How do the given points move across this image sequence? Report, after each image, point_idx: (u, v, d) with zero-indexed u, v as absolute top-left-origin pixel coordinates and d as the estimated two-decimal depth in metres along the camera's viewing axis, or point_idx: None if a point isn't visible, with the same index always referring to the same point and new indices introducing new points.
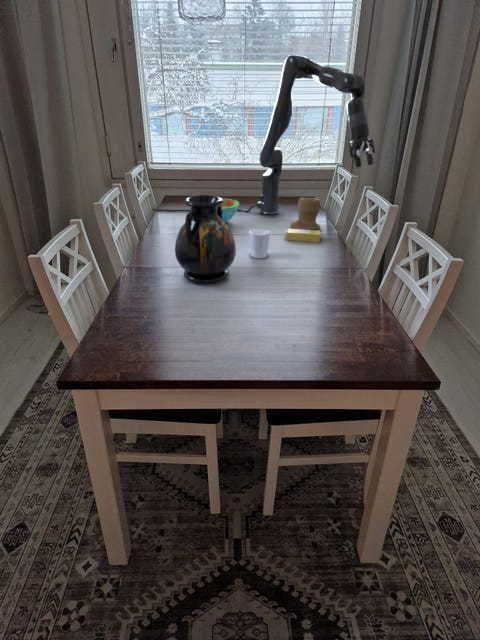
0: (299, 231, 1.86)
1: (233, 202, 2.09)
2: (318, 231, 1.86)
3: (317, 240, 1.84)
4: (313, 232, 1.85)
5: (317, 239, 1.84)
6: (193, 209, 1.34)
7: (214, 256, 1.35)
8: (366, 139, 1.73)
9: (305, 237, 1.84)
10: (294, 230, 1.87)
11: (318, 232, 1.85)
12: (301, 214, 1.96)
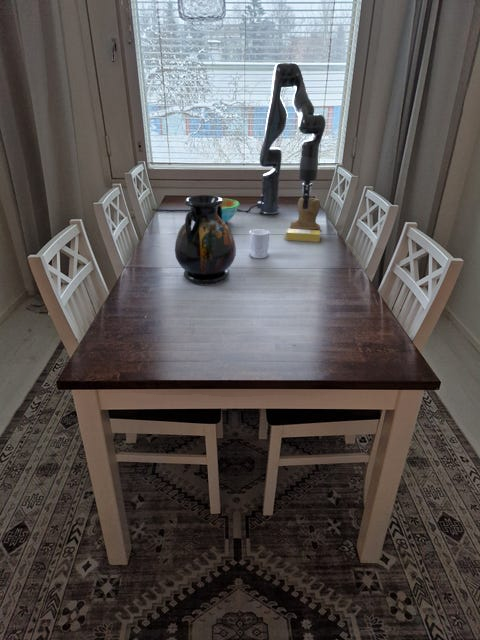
0: (299, 231, 1.86)
1: (233, 202, 2.09)
2: (318, 231, 1.86)
3: (317, 240, 1.84)
4: (313, 232, 1.85)
5: (317, 239, 1.84)
6: (193, 209, 1.34)
7: (214, 256, 1.35)
8: None
9: (305, 237, 1.84)
10: (294, 230, 1.87)
11: (318, 232, 1.85)
12: (301, 214, 1.96)
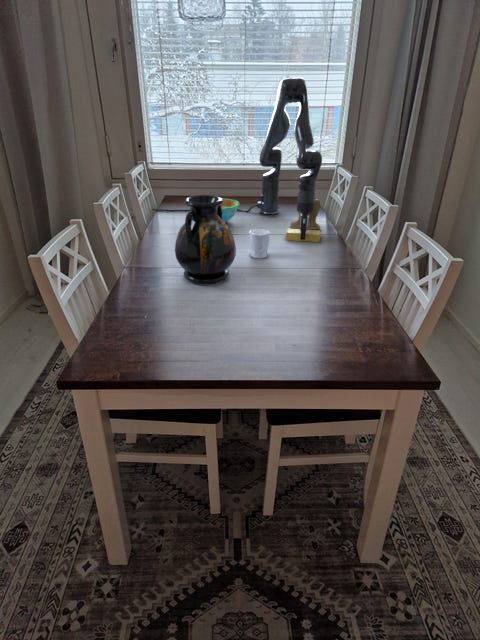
0: (299, 231, 1.86)
1: (233, 202, 2.09)
2: (318, 231, 1.86)
3: (317, 240, 1.84)
4: (313, 232, 1.85)
5: (317, 239, 1.84)
6: (193, 209, 1.34)
7: (214, 256, 1.35)
8: None
9: (305, 237, 1.84)
10: (294, 230, 1.87)
11: (318, 232, 1.85)
12: None
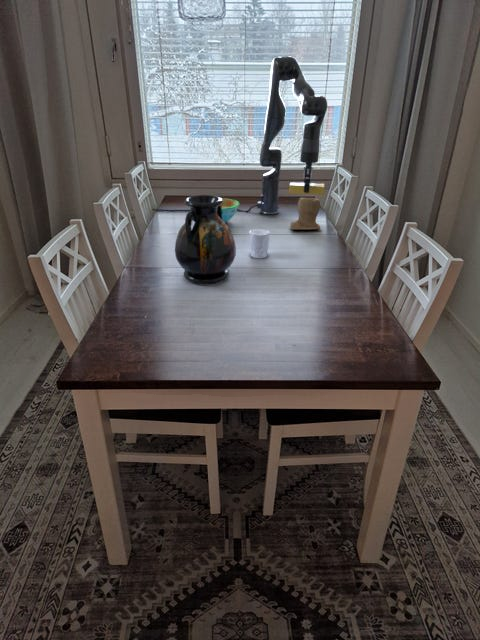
0: (303, 184, 1.79)
1: (233, 202, 2.09)
2: (322, 184, 1.80)
3: (321, 193, 1.77)
4: (317, 185, 1.78)
5: (321, 192, 1.77)
6: (193, 209, 1.34)
7: (214, 256, 1.35)
8: None
9: (309, 190, 1.77)
10: (297, 183, 1.80)
11: (322, 184, 1.79)
12: (301, 214, 1.96)
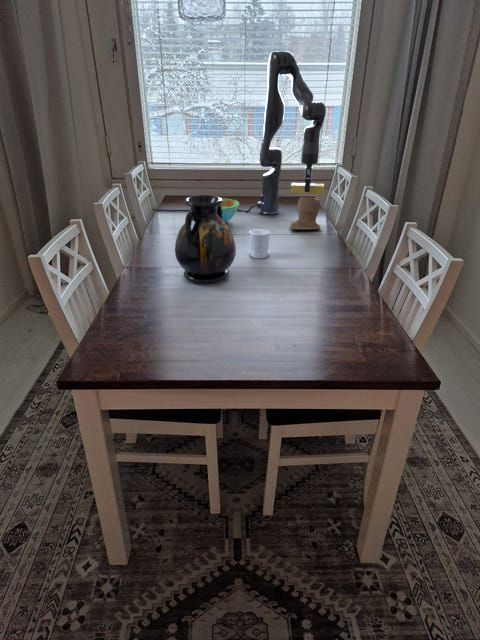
0: (303, 184, 1.91)
1: (233, 202, 2.09)
2: (322, 184, 1.91)
3: (321, 192, 1.89)
4: (317, 185, 1.90)
5: (321, 191, 1.89)
6: (193, 209, 1.34)
7: (214, 256, 1.35)
8: None
9: (310, 190, 1.89)
10: (298, 183, 1.92)
11: (322, 184, 1.91)
12: (301, 214, 1.96)
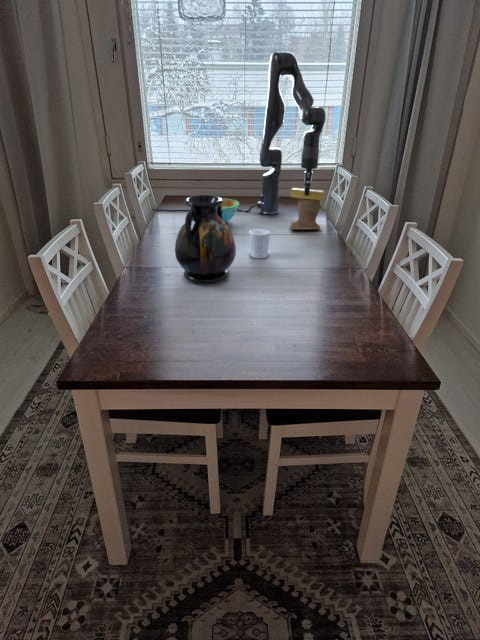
0: (303, 189, 1.92)
1: (233, 202, 2.09)
2: (322, 191, 1.93)
3: (320, 198, 1.90)
4: (317, 191, 1.91)
5: (321, 197, 1.90)
6: (193, 209, 1.34)
7: (214, 256, 1.35)
8: None
9: (309, 195, 1.90)
10: (299, 188, 1.94)
11: (321, 191, 1.92)
12: (301, 214, 1.96)
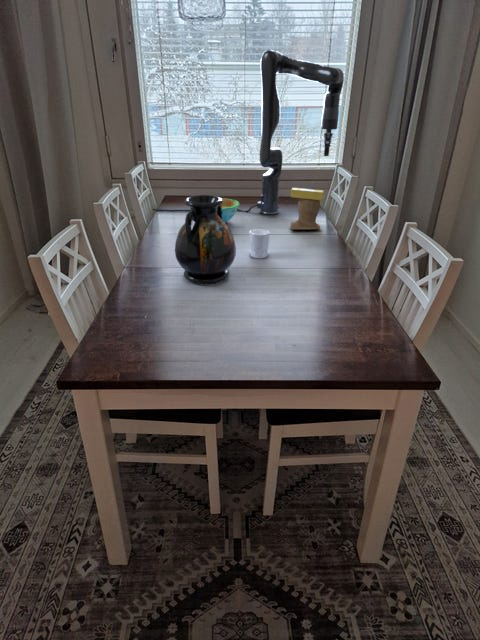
0: (303, 189, 1.92)
1: (233, 202, 2.09)
2: (322, 191, 1.93)
3: (320, 198, 1.90)
4: (317, 191, 1.91)
5: (321, 197, 1.90)
6: (193, 209, 1.34)
7: (214, 256, 1.35)
8: None
9: (309, 195, 1.90)
10: (299, 189, 1.94)
11: (321, 191, 1.92)
12: (301, 214, 1.96)
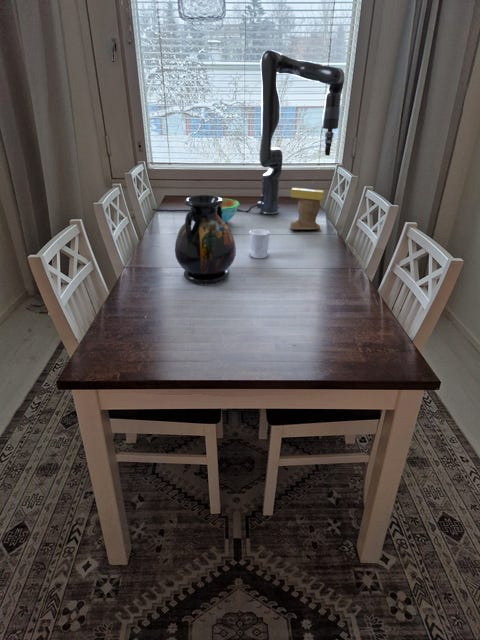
0: (303, 189, 1.92)
1: (233, 202, 2.09)
2: (322, 191, 1.93)
3: (320, 198, 1.90)
4: (317, 191, 1.91)
5: (321, 197, 1.90)
6: (193, 209, 1.34)
7: (214, 256, 1.35)
8: None
9: (309, 195, 1.90)
10: (299, 188, 1.94)
11: (321, 191, 1.92)
12: (301, 214, 1.96)
